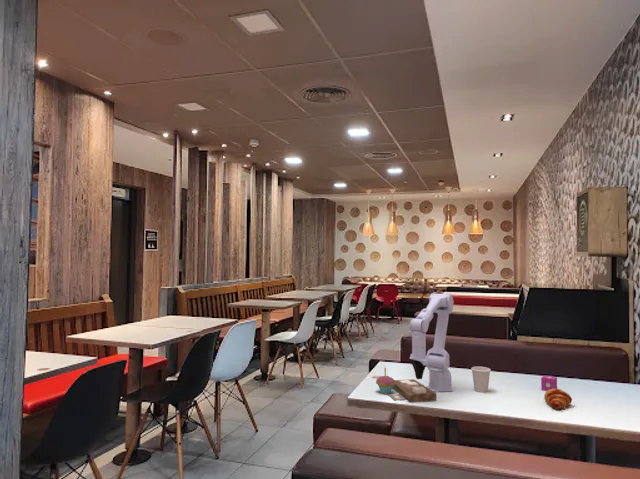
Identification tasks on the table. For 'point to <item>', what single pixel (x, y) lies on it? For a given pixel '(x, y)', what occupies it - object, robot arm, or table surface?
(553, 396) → the croissant
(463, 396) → the table surface
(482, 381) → the dixie cup
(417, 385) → the button middle
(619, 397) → the table surface
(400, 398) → the pattern card
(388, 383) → the cupcake
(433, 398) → the button board
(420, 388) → the button
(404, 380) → the button
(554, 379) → the puzzle toy
